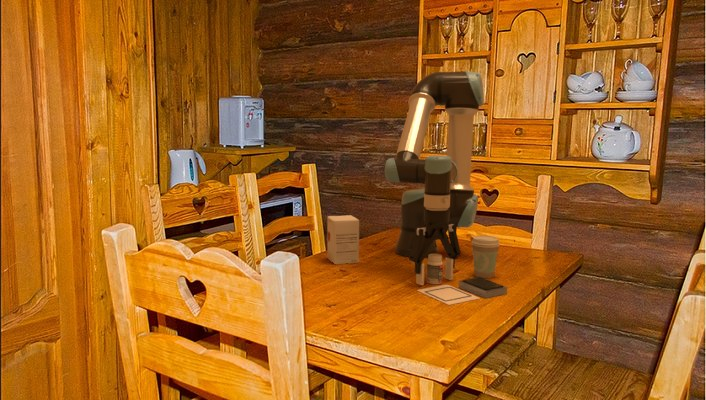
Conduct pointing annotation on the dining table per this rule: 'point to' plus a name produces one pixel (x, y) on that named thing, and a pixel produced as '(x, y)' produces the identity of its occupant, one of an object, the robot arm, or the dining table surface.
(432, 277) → the pill bottle
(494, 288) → the ink pad
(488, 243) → the coffee cup
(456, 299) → the print card
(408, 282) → the dining table surface
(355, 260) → the supplement box
